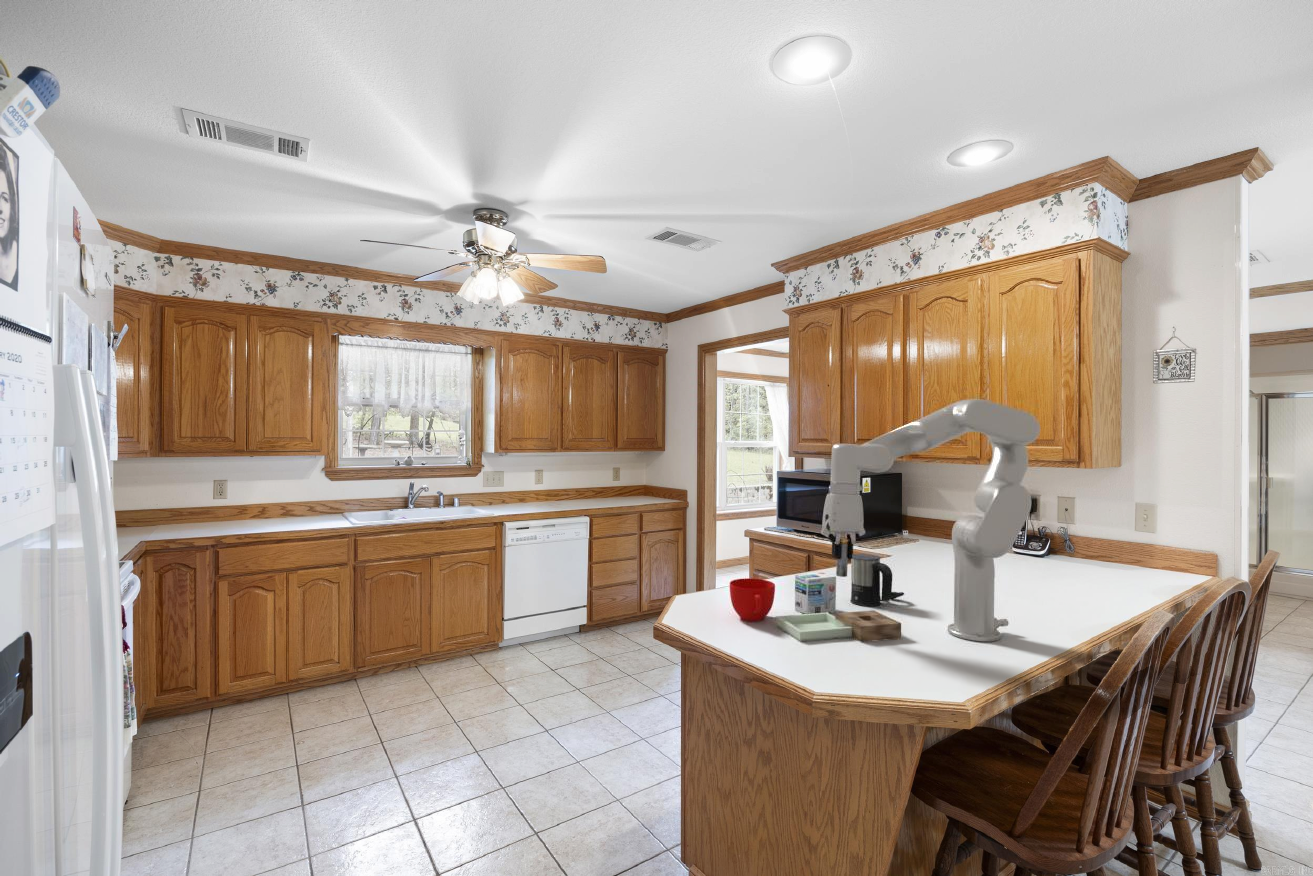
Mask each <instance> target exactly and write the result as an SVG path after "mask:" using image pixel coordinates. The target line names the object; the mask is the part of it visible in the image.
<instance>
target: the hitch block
mask: <svg viewBox="0 0 1313 876" xmlns="http://www.w3.org/2000/svg"><path fill="white" fill-rule="evenodd" d="M834 616H835V619H837V620H838V621H839V622H840V624H841V622H842V623H843V624H845V625H848V626H847V627H849V626H850V627H852V637H853V639H854V638H855V639H854V640H856V639H857V640H856V641H858V640H859V641H868V642H873V641H872V640H879V641H884V640H883V639H890V640H898V639H897V638H900V639H902V623H901V622H900V621H897V620H895V619H893V618H891V617H890V616H887V615H886V614H885V615H884V614H882V613H880V612H879V611H876V610H874V609H873V610H871V609H870V610H861V611H860V610H859V611H849V612H848V611H846V612H834ZM839 622H838V623H839ZM836 623H837V622H836ZM836 623H835V624H836ZM838 623H837V624H838ZM837 624H836V625H837ZM845 625H843V626H845ZM837 627H838V626H837ZM841 627H842V625H841ZM852 637H851V638H852ZM859 641H858V642H859Z"/></svg>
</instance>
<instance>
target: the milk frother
mask: <svg viewBox="0 0 1313 876" xmlns="http://www.w3.org/2000/svg"><path fill="white" fill-rule="evenodd" d="M881 559H882V557H881V556H880V555H876V554H869V553H853V555H852V559H850V567H851V571H850V573H851V574H850V575H851V577H850V578H851V581H850V582H851V584H850V585H851V593H850V603H852V604H854V605H857V606H863V607H876V606H877V607H878V606H880V605H881V604H882V602H884V601H885V602H887V601H893V600H895V599H897V598H901V597H902V596H904V595H905V592H903V591H901V592H897V591H892V590H893V571H892V570H891V567H890V566H888V565H887V564H886V563H882V562H881ZM881 576H882V578H881ZM881 580H882V581H881Z"/></svg>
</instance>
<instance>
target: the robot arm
mask: <svg viewBox="0 0 1313 876" xmlns="http://www.w3.org/2000/svg"><path fill="white" fill-rule="evenodd" d="M970 432H972V433H973V432H975V433H980V434H982V435H983V434H984V435H985V436H986V438H987V440H988V441H989V443H990V446H991V449H992V457H991V460H990V463H989V465H988V468H987V470H986V471H985V474H984V475H983V478H982V479H981V481H980V483H979V486H978V487H977V488H976V491H975V493H974V496H973V497H974V498H973V501H974V504H975V507H976V508H977V509H978V510H979V511H980V512H983V513H984V514H983V516H980V515H976V514H974V515H973V514H967V515H965V516H962V517H960V518H958V519H957V520H956V521H955V523H954V524H953V527H952V530H951V541H952V546H953V547H952V549H953V556H954V558H953V559H954V577H953V578H954V582H953V583H954V584H953V585H954V589H953V591H954V592H953V593H954V595H953V596H954V597H953V598H954V599H953V602H954V603H953V623H950V624H948V625H947V632H948V633H949V634H950V635H952V636H954V637H957V638H959V639H960V638H961V639H964V640H967V641H968V640H969V641H972V642H973V641H974V642H995V641H999V640H1000V639H1001V638H1002V637H1001V636H1002V634H1001V632H1000V631H999V630H998V628H999V627H1007V626H1009V625H1010V624H1009V620H1008V619H1007V618H999V619H998V618H996V617H995V578H996V576H995V575H996V574H995V573H996V571H995V569H996V567H995V560H994V559H997V558H1001V557H1003V556H1005V555H1006V554H1008V552H1009V551H1010V550H1011V548H1012V547H1013V545H1014V543H1015V541H1016V539H1017V538H1018V536H1019V534H1020V532H1021V530H1022V529H1023V527H1024V525H1025V523H1026V521H1027V518H1028V516H1029V514H1030V512H1031V509H1032V497H1031V495H1030V492H1029V491H1028V489H1027V488H1026V487H1025V486H1024V485H1022V482H1023V479H1024V477H1025V475H1026V473H1027V470H1028V467H1029V454H1028V450H1027V445H1029V444H1031V443H1033V442H1035V441H1036V439H1038V437H1039V436H1040V434H1041V425H1040V422H1039V420H1038V418H1037V417H1035V415H1033V414H1031V413H1029V412H1028V411H1024V410H1021V409H1017V408H1014V407H1010V406H1007V405H1003V404H1000V403H997V402H993V401H990V400H986V399H982V398H972V399H969V398H968V399H962V400H959V401H956V402H953V403H951V404H949V405H946V406H945V407H943V408H941V409H937V410H936V411H934V412H932V413H930V414H927V415H925V416H923V417H921V418H919V419H916V420H914V421H912V422H910V423H906V424H905V425H903V426H901V427H898V428H896V429H894V430H893V429H892V430H891V431H888V432H886V433H884V434H882V435H880V436H877V437H875V438H873V439H871V440H869V441H866V442H864V443H862V444H861V445H859V444H856V443H853V444H852V443H835V444H833V445H832V447H831V460H830V462H831V463H830V466H831V467H830V485H829V486H830V488H829V491H830V492H829V493H827V494H826V497H825V501H824V507H823V513H822V522H821V523H822V524H821V525H822V526H821V527H822V528H821V530H820V533H821V535H823V536H824V537H827V539H828V540H829V542H830V543H831V555H832V558H834V559H835V560H837V559H841V544H839V542H840V537H841V533H845V538H848V539H849V540H848V560H851V559H852V555H854V545H855V544H856V541H857V540H858V539H859V538H860V537H861V536H864V535H865V534H866V530H865V528H864V506H863V500H862V499H863V497H862V495H860V491H863V490H864V487H863V485H861V471H865V472H872V473H876V474H877V473H878V474H879V473H880V474H881V473H884V472H886V471H888V470H889V469H891V468H892V466H893V465H894V462H895V461H894V460H895V459H897V458H899V457H900V458H901V457H903V456H907V455H912V454H916V453H924V452H926V451H929V450H934V448H937V447H939V446H941V445H943V444H946V443H948V442H949V441H951V440H954V439H957V438H958V437H960V436H963V435H965V434H967V433H970ZM829 531H830V532H829Z"/></svg>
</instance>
